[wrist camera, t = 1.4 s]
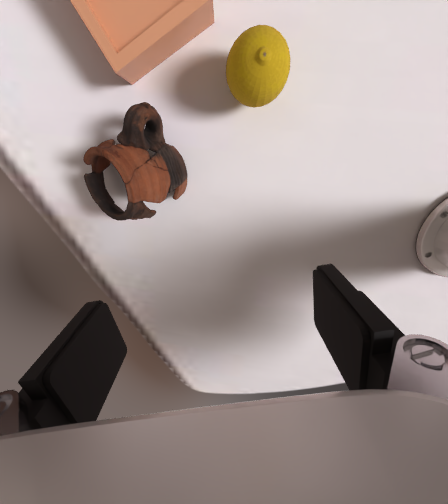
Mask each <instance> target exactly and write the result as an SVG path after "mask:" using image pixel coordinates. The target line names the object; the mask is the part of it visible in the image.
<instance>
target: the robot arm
mask: <svg viewBox="0 0 448 504" xmlns="http://www.w3.org/2000/svg"><path fill="white" fill-rule="evenodd" d="M416 250H417V256H418V258H419V260H420V262H421V263H422V265H423V266H424V267H425V268H427V269H428V270H430V271H431V272H433V273H435V274H437V275H440V276H444V277H448V198H447V199H446V200H444V201H443V202H442V203H441V204H439V205H438V206H437V207H436V208H435V209H434V210H433V211H432V212H431V214H430V215H429V216H428V217H427V219H426V220H425V222H424V223H423V225H422V227H421V229H420V232H419V234H418V238H417V245H416ZM313 295H314V322H315V325H316V328H317V330H318V331H319V333H320V335H321V337H322V339H323V341H324V343H325V345H326V347H327V348H328V350H329V352H330V354H331V356H332V358H333V360H334V362H335V364H336V365H337V367H338V369H339V371H340V373H341V375H342V377H343V379H344V381H345V382H346V384H347V386H348V388H349V391H337V392H327V393H317V394H308V395H298V396H289V397H281V398H273V399H265V400H256V401H248V402H240V403H231V404H223V405H215V406H207V407H200V408H191V409H183V410H176V411H167V412H160V413H152V414H144V415H136V416H129V417H121V418H114V419H106V420H99V421H96V420H97V417H98V415H99V413H100V411H101V409H102V406H103V404H104V402H105V400H106V398H107V395H108V393H109V391H110V389H111V387H112V385H113V382H114V380H115V378H116V376H117V373H118V371H119V369H120V367H121V365H122V363H123V360H124V358H125V356H126V353H127V347H126V345H125V342H124V340H123V338H122V336H121V333H120V331H119V329H118V327H117V325H116V323H115V320H114V318H113V316H112V314H111V312H110V310H109V307H108V305H107V304H106V303H103V302H102V301H100V300H99V301H93V302H88V303H86V304H85V305H84V306H83V307H82V308H81V309H80V311H79V312H78V313H77V314H76V315H75V316H74V318H73V319H72V320H71V321H70V322H69V323H68V325H67V326H66V327H65V328H64V329H63V330H62V332H61V333H60V334H59V335H58V336H57V337H56V338H55V340H54V341H53V342H52V343H51V344H50V346H49V347H48V348H47V349H46V350H45V351H44V352H43V354H42V355H41V356H40V357H39V358H38V359H37V361H36V362H35V363H34V364H33V365H32V366H31V368H30V369H29V370H28V371H27V372H26V373H25V374H24V376H23V377H22V378H21V379H20V380H19V382H18V383H19V384H20V385H21V387H22V390H21V391H20V392H19V393H18V392H17V391H15V390H7V391H4V392H0V504H448V345H447V344H445V343H444V342H442V341H440V340H437V339H435V338H432V337H429V336H424V335H412V334H411V335H406V336H405V335H404V334H403V333H402V332H401V331H400V330H399V329H398V328H397V327H396V326H395V325H394V324H393V323H392V322H391V321H390V320H389V319H388V318H387V316H386V315H385V314H384V313H383V312H382V311H381V310H380V309H379V308H378V307H377V306H376V305H375V304H374V303H373V302H372V301H371V300H370V299H369V298H368V297H367V296H366V295H365V294H364V293H363V292H361V291H357V289H356V288H355V287H354V286H353V285H352V284H351V283H350V282H349V281H348V280H347V279H346V278H345V277H344V276H343V275H342V274H341V273H340V272H339V271H338V270H337V268H336V267H335V266H334V265H333V264H327V265H321V266H318V267H317V270H313Z"/></svg>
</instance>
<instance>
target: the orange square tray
mask: <svg viewBox="0 0 448 504" xmlns="http://www.w3.org/2000/svg"><path fill="white" fill-rule="evenodd" d="M70 1H71V2H72V4H73V6H74V7H75V9H76V11H77V12H78V14H79V15H80V17H81V19H82V20H83V22H84V23H85V25H86V27H87V28H88V30H89V31H90V33H91V35H92V36H93V38H94V39H95V41H96V43H97V44H98V46H99V47H100V49H101V51H102V52H103V54H104V55H105V57H106V59H107V60H108V62H109V63H110V65H111V67H112V68H113V70H114V71H115V73H116V74H117V75H119V76H120V77H122V78H123V79H125V80H126V81H128V82H129V83H130V84H134V83H135V82H136V81H138V80H139V79H140V78H142V77H143V76H144V75H146V74H147V73H148V72H150V71H151V70H152V69H154V68H155V67H156V66H158V65H159V64H160V63H162V62H163V61H164V60H166V59H167V58H168V57H169V56H171V55H172V54H173V53H175V52H176V51H177V50H179V49H180V48H181V47H183V46H184V45H185V44H187V43H188V42H189V41H191V40H192V39H193V38H195V37H196V36H197V35H199V34H200V33H201V32H203V31H204V30H205V29H207V28H208V27H209V26H210V25H212V24H213V23H214V10H213V0H70Z"/></svg>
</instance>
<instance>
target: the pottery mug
mask: <svg viewBox="0 0 448 504" xmlns="http://www.w3.org/2000/svg"><path fill="white" fill-rule="evenodd" d="M145 124H146V126H145ZM144 127H145V129H144ZM117 140H118V142H119V143H121V144H116V145H114V144H115V141H114V140H113V139H110V140H107V141H105V142H102V143H101V144H100V145H99V146H98V147H91V148H90V149H88V150H87V151H86V153H85V155H84V162H85V163H86V164H87V165H90V164H91V166H92V173H90V174H85V175H84V179H85V182H86V185H87V187H88V190H89V192H90V194H91V196H92V198H93V199H94V201H95V202H96V203H97V204H98V206H99V207H100V208H101V209H102V211H103V212H105V213H106V214H107V215H108V216H110V217H111V218H113V219H116V220H126V219H132V220H134V219H135V220H137V219H143V218H151V217H152V216H154V215H155V214H156V211H155V210H150V209H149V208H148V207H147V206H146V205H145V204H144V203H143V201H146V202H153V203H161V202H162V201H164V200H165V199H166V196H167V193H168V192H169V193H170V192H171V191H173V190H174V189H175V192H174V195H173V199H175V200H176V199H178V198H179V197H180V196H181V195H182V194H183V193H184V192H185V189H186V186H187V170H186V166H185V163H184V160H183V158H182V156H181V155H180V153H179V152H178V151H177V150H176V148H175V147H174V146H171V145H169V144H166V143H165V139H164V136H163V125H162V120H161V117H160V115H159V114H158V112H157V111H156V109H155V108H154V107H153V106H151V105H150V104H148V103H146V102H143V103H140V104H136V105H133V106H131V107H130V108H129V109H128V111H127V112H126V115H125V118H124V125H123V130H122V132H120V134H119V135H118V136H117ZM147 149H149V150H152V151H154V152H156V154H155V155H154V156H152V157H150V155H149V152H148V151H147ZM110 162H111V163H112V164H113V165H114V167H115V168H116V169H117V171H118V172H119V174H120V175H121V177H122V179H123V182H124V183H125V187H126V190H127V196H128V205H127V209H126V210H125V211H123V210H121V209H120V208H119V207H118V206H117V205H115V204H114V203H115V202H114V201H113V199H112V198H111V196H110V195H109V193H108V191H107V190H106V188H105V184H104V177H103V170H104V169H106V168H107V167H108V166H109V165H110Z"/></svg>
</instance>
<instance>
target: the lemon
mask: <svg viewBox="0 0 448 504" xmlns="http://www.w3.org/2000/svg"><path fill="white" fill-rule="evenodd" d="M289 70H290V54H289V48H288V45H287V43H286V40H285V39H284V37H283V36H282V35H281V33H280V32H278V31H277V30H276V29H275V28H273V27H270V26H267V25H257V26H254V27H251V28H249V29H247V30H246V31H244V32H243V33H242V34H241V35H240V36H239V37H238V38H237V40H236V41H235V42H234V44H233V46H232V48H231V50H230V52H229V55H228V59H227V64H226V77H227V83H228V86H229V88H230V91H231V93H232V94H233V96H234V97H235V98H236V99H237V100H238V101H239V102H240V103H242V104H244V105H246V106H249V107H261V106H264V105H266V104H268V103H270V102H271V101H272V100H274V99H275V98H276V97H277V96H278V95H279V93H280V92H281V91H282V89H283V87H284V85H285V83H286V81H287V78H288V74H289Z"/></svg>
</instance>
